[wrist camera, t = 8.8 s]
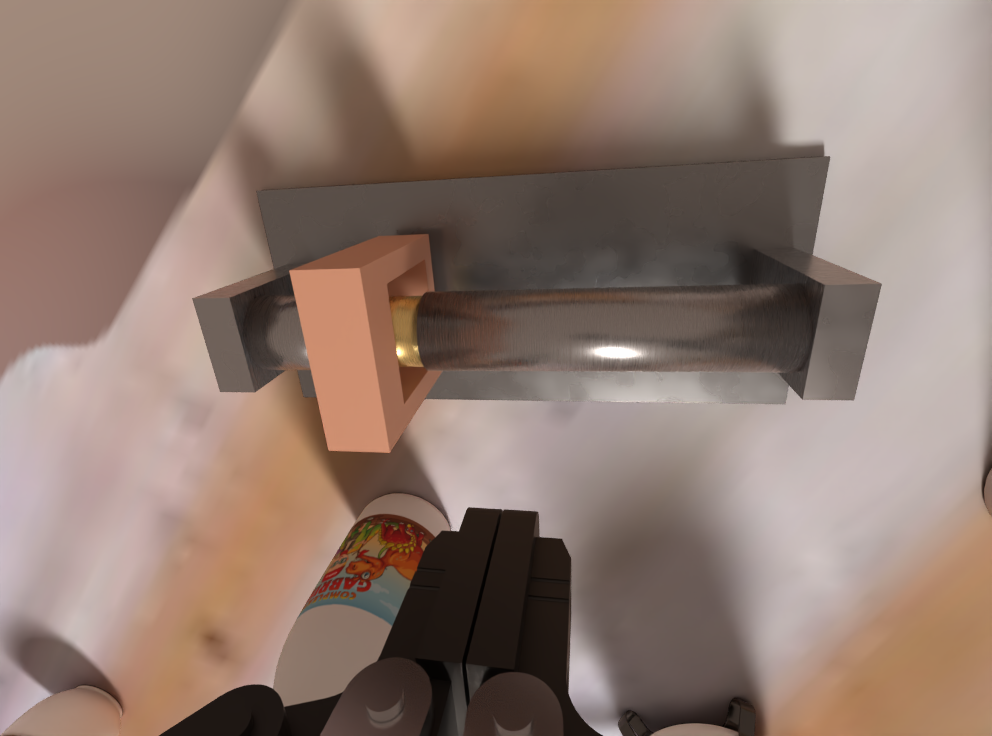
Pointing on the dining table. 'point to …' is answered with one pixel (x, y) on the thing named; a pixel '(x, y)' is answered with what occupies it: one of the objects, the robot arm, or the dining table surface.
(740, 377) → the rail
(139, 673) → the dining table surface
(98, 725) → the lidded jar
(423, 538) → the milk bottle
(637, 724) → the coffee press
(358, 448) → the collar
